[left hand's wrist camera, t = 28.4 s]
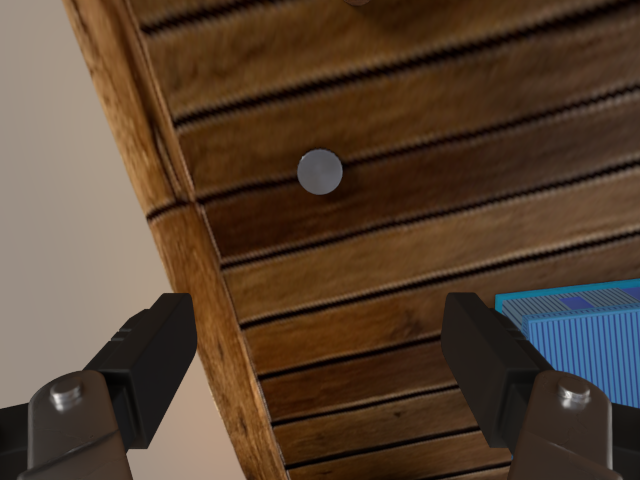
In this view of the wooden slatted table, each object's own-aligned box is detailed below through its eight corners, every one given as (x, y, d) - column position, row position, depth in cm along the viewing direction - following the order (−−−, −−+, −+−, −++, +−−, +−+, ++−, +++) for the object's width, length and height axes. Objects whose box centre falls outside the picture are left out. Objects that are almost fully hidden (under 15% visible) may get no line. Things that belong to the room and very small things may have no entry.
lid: (326, 199, 40) (326, 203, 38) (289, 176, 39) (288, 180, 37) (350, 162, 39) (352, 165, 37) (312, 138, 38) (312, 139, 36)
